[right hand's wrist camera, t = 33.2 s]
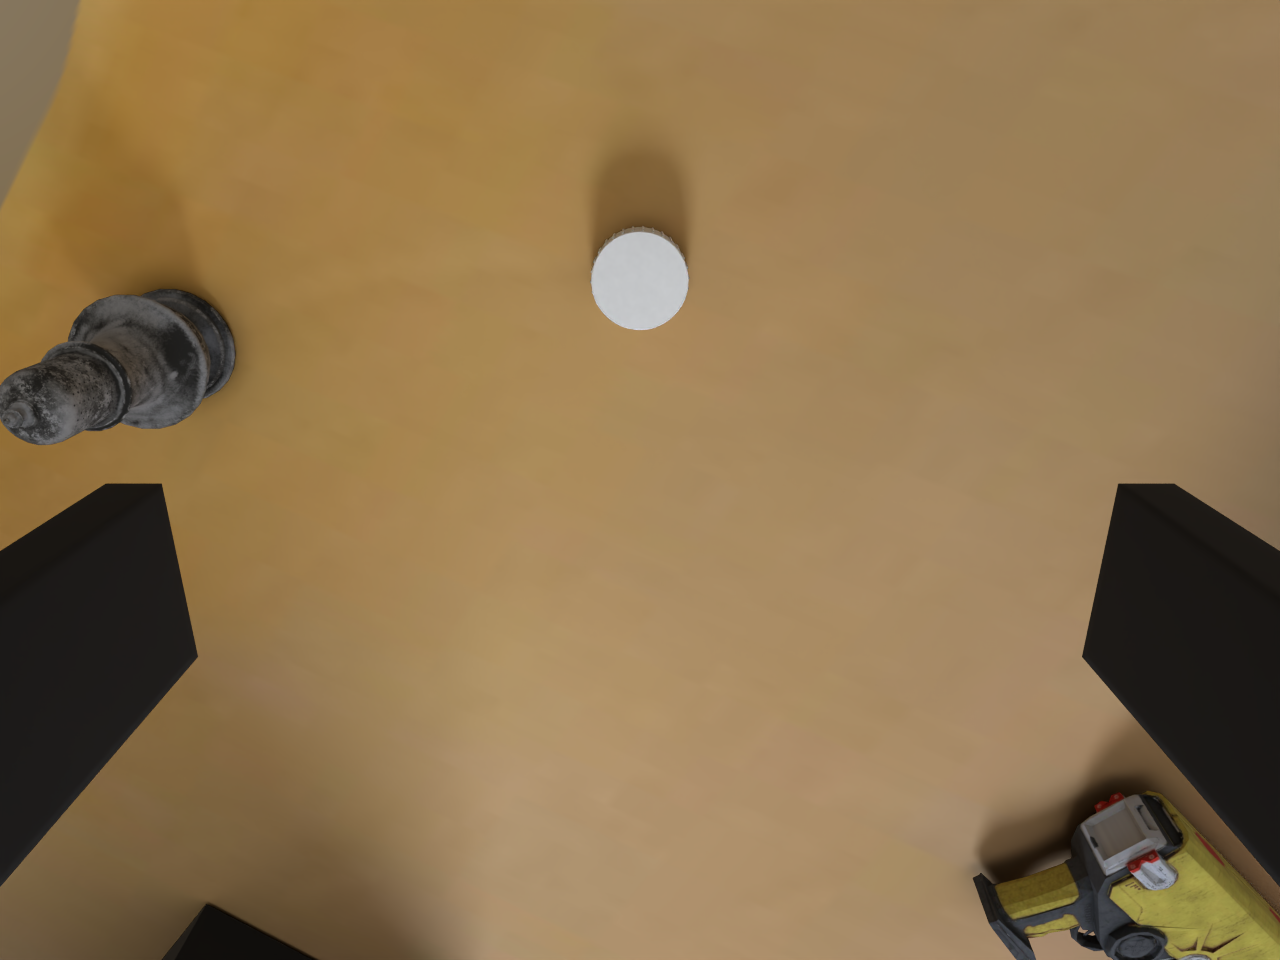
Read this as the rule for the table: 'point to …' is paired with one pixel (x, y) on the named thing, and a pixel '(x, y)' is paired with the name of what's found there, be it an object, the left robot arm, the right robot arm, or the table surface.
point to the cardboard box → (226, 941)
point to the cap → (639, 278)
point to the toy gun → (1137, 892)
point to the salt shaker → (122, 368)
